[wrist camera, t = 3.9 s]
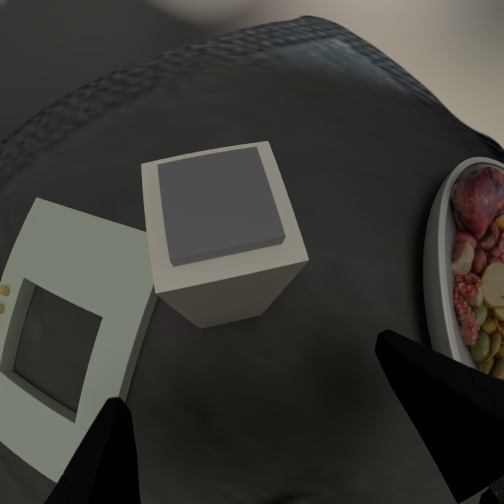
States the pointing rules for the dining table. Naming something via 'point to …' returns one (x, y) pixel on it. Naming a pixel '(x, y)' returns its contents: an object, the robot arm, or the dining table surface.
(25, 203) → the dining table surface
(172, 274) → the grey tall block
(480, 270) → the bowl
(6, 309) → the board
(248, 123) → the dining table surface
